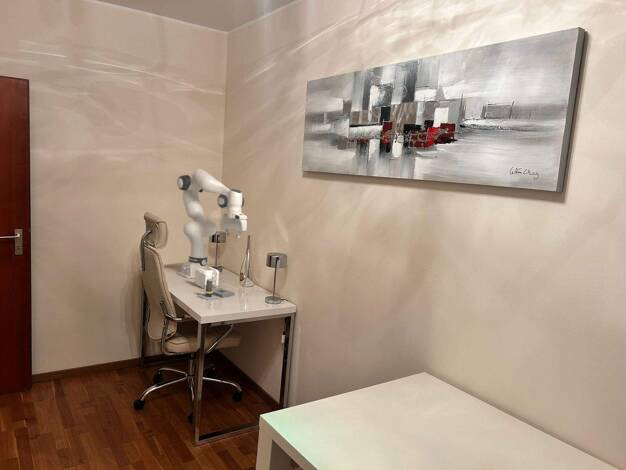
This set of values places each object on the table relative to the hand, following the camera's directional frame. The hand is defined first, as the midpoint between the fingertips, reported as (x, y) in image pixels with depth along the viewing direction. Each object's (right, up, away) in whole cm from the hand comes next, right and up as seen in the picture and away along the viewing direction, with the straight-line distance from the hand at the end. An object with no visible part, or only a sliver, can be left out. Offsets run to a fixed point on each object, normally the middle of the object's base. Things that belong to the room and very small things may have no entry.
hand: (232, 236), depth 309 cm
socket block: (-6, -35, -11) cm, 38 cm away
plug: (-11, -35, -20) cm, 42 cm away
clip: (-14, -31, -9) cm, 35 cm away
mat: (-11, -36, -20) cm, 43 cm away
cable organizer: (-18, -33, +5) cm, 38 cm away
